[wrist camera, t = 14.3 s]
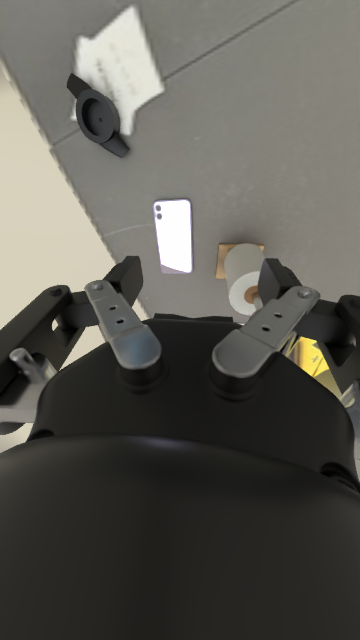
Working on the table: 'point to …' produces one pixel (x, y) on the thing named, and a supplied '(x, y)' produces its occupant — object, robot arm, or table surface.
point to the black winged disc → (97, 116)
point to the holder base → (222, 255)
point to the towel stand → (244, 277)
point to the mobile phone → (174, 235)
